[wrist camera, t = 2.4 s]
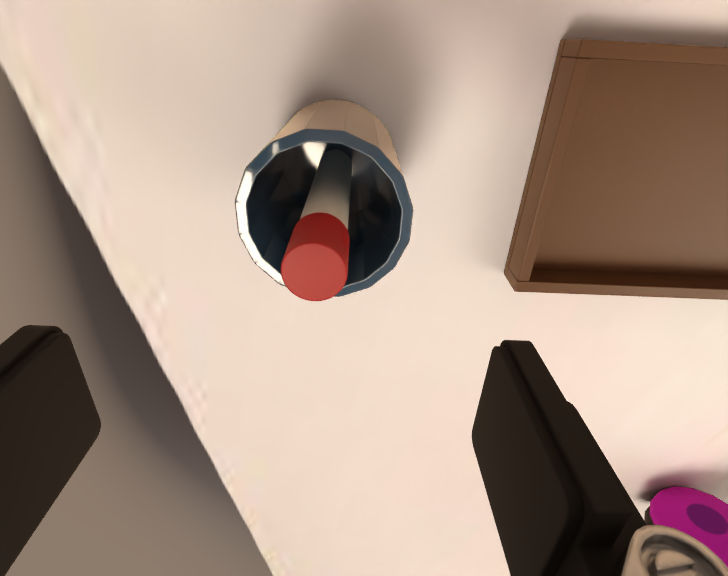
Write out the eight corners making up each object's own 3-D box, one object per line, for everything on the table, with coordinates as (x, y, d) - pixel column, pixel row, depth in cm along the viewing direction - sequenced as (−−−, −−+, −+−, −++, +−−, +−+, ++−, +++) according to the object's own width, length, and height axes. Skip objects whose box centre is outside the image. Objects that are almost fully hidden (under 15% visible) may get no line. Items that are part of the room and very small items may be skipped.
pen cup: (273, 96, 24) (225, 124, 16) (400, 102, 25) (421, 134, 16) (280, 216, 28) (244, 293, 19) (390, 221, 28) (403, 299, 20)
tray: (560, 39, 23) (581, 39, 21) (936, 60, 24) (996, 62, 21) (503, 273, 30) (514, 291, 28) (791, 284, 31) (825, 303, 29)
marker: (317, 146, 25) (278, 241, 13) (354, 148, 25) (348, 243, 13) (317, 182, 26) (281, 300, 14) (353, 184, 26) (347, 302, 14)
